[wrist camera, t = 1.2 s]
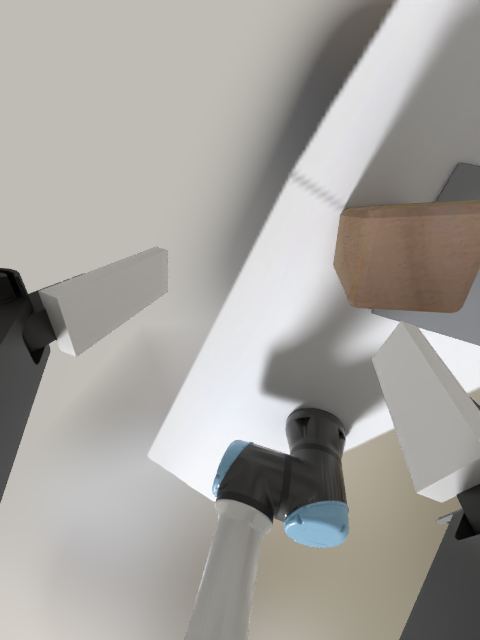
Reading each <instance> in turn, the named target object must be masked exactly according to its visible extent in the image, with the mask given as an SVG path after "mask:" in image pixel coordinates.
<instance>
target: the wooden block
mask: <svg viewBox="0 0 480 640" xmlns="http://www.w3.org/2000/svg"><path fill="white" fill-rule="evenodd" d="M333 265H334V268H335V270H336V273H337V275H338V277H339V279H340V281H341V284H342V286H343V288H344V290H345V293H346V295H347V297H348V299H349V302H350V304H351V305H352V306H354V307H357V308H368V309H385V310H402V311H419V312H437V313H454V312H458V311H459V310H460V309H461V308H462V307H463V305H464V303H465V301H466V298H467V296H468V294H469V291H470V289H471V287H472V284H473V282H474V280H475V278H476V275H477V273H478V271H479V268H480V200H470V201H452V202H434V203H416V204H398V205H380V206H368V207H357V208H348V209H345V210H343V211H342V213H341V215H340V221H339V228H338V235H337V243H336V250H335V257H334V264H333Z"/></svg>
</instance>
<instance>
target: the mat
mask: <svg viewBox="0 0 480 640" xmlns="http://www.w3.org/2000/svg"><path fill="white" fill-rule="evenodd" d="M470 200H480V166H476V165H470V164H465V163H458V165H457V167H456V168H455V170H454V172H453V173H452V175H451V177H450V179H449V180H448V182H447V184H446V185H445V187H444V189H443V191H442V192H441V194H440V196H439V197H438V199H437V201H436V202H452V201H470ZM371 313H373V314H376V315H379V316H383V317H386V318H389V319H393V320H396V321H399V322H401V321H402V322H405V323H408V324H412V325H415V326H417V327H419V328H423V329H426V330H429V331H433V332H436V333H439V334H443V335H446V336H449V337H453V338H456V339H459V340H463V341H466V342H469V343H473V344H476V345H479V346H480V268H479V271H478V273H477V275H476V278H475V280H474V282H473V284H472V287H471V289H470V291H469V294H468V296H467V298H466V301H465V303H464V305H463V307H462V308H461V309H460V310H459V311H458V312H454V313H437V312H419V311H402V310H385V309H373V310H372V312H371Z"/></svg>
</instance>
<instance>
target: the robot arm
mask: <svg viewBox="0 0 480 640" xmlns="http://www.w3.org/2000/svg"><path fill="white" fill-rule="evenodd" d="M167 285H168V250H165V249H162V248H159V247H154V248H152V249H149V250H146V251H143V252H141V253H138V254H135V255H133V256H130V257H127V258H125V259H122V260H119V261H117V262H114V263H111V264H109V265H106V266H104V267H101V268H98V269H96V270H93V271H90V272H88V273H84V274H81V275H78V276H75V277H73V278H72V279H67V280H65V281H63V282H59V283H57V284H54V285H51V286H49V287H46V288H43V289H40V290H38V291H35V292H33V293H30V294H28V293H27V290H26V288H25V286H24V283H23V281H22V278H21V276H20V273H18V272H17V271H15V270H12V269H6V268H5V269H4V268H0V502H1V499H2V496H3V493H4V490H5V487H6V484H7V481H8V478H9V475H10V472H11V469H12V466H13V463H14V460H15V457H16V454H17V451H18V448H19V445H20V442H21V439H22V436H23V432H24V429H25V426H26V424H27V420H28V417H29V414H30V411H31V408H32V405H33V402H34V399H35V396H36V393H37V390H38V387H39V384H40V381H41V378H42V375H43V372H44V369H45V366H46V362H47V360H48V357H49V354H50V346H49V343H51V342H53V341H54V340H57V343H58V345H59V348H60V350H61V351H63V352H65V353H68V354H71V355H73V356H75V357H77V356H78V355H80V354H81V353H83V352H84V351H85V350H87V349H88V348H90V347H91V346H92V345H94V344H95V343H97V342H98V341H99V340H101V339H102V338H104V337H105V336H106V335H108V334H109V333H111V332H112V331H113V330H115V329H116V328H118V327H119V326H120V325H122V324H123V323H124V322H126V321H127V320H129V319H130V318H131V317H133V316H134V315H136V314H137V313H138V312H140V311H141V310H143V309H144V308H146V307H147V306H148V305H150V304H151V303H153V302H154V301H155V300H157V299H158V298H159V297H161V296H162V295H164V294H165V293H167V291H168V286H167ZM372 362H373V365H374V368H375V371H376V374H377V377H378V380H379V383H380V386H381V389H382V392H383V395H384V398H385V400H386V403H387V406H388V409H389V412H390V415H391V418H392V421H393V424H394V427H395V430H396V433H397V436H398V439H399V442H400V445H401V448H402V451H403V454H404V457H405V460H406V463H407V466H408V469H409V472H410V475H411V478H412V481H413V484H414V487H415V490H416V492H417V493H418V494H421V495H423V496H426V497H428V498H431V499H434V500H436V501H439V502H441V503H442V502H444V501H446V500H448V499H451V498H453V497H455V496H457V498H458V500H459V502H460V504H461V506H462V509H460V510H458V511H455V512H452V513H450V514H448V515H445V516H443V517H440V518H439V519H438V520H436V522H437V523H438V524H439V525H441V524H443V523H449V525H448V528H447V530H446V532H445V535H444V537H443V539H442V542H441V544H440V546H439V549H438V551H437V553H436V556H435V558H434V560H433V563H432V565H431V567H430V570H429V572H428V574H427V577H426V579H425V581H424V584H423V586H422V588H421V591H420V593H419V595H418V597H417V600H416V602H415V604H414V607H413V609H412V612H411V614H410V616H409V618H408V621H407V623H406V626H405V628H404V630H403V632H402V635H401V637H400V639H399V640H480V406H479V405H478V404H477V403H476V402H475V401H474V400H473V399H472V398H471V397H469V396H468V394H467V393H466V392H465V390H464V389H463V388H462V386H461V385H460V384H459V382H458V381H457V380H456V378H455V377H454V375H453V374H452V373H451V371H450V370H449V369H448V367H447V366H446V365H445V363H444V362H443V361H442V359H441V358H440V357H439V355H438V354H437V353H436V351H435V350H434V349H433V347H432V346H431V345H430V343H429V342H428V340H427V339H426V338H425V336H424V335H423V334H422V332H421V331H420V330H419V328H418V327H417V326H415V325H412V324H408V323H405V322H402V321H401V322H400V323H399V324H398V326H397V327H396V328H395V330H394V331H393V332H392V334H391V335H390V336H389V338H388V339H387V340H386V341H385V343H384V344H383V345H382V347H381V348H380V349H379V351H378V352H377V353H376V355H375V356H374V357H373V359H372ZM286 436H287V440H288V444H289V448H290V455H288V454H285V453H282V452H278V451H275V450H272V449H269V448H266V447H263V446H260V445H257V444H254V443H253V442H246V441H242V440H235V441H233V442H232V443H231V444H230V445H229V447H228V448H227V450H226V452H225V454H224V456H223V458H222V460H221V462H220V465H219V467H218V470H217V474H216V477H215V479H214V483H213V489H212V491H213V494H214V495H215V497H217V499H216V502H215V509H216V512H217V515H218V524H217V527H216V531H215V534H214V537H213V541H212V545H211V548H210V551H209V555H208V558H207V562H206V565H205V569H204V572H203V576H202V579H201V583H200V586H199V590H198V593H197V597H196V600H195V604H194V607H193V611H192V614H191V618H190V621H189V625H188V628H187V632H186V635H185V639H184V640H247V639H248V632H249V626H250V618H251V612H252V605H253V598H254V591H255V585H256V578H257V570H258V564H259V557H260V551H261V544H262V538H263V536H264V535H266V534H267V533H268V532H269V531H270V530H271V529H272V526H273V525H272V524H273V518H275V519H278V520H280V521H283V522H284V528H285V532H286V534H287V535H288V536H289V537H290V538H292V539H293V540H294V541H296V542H298V543H300V544H303V545H307V546H312V547H320V548H323V547H333V546H337V545H339V544H341V543H343V542H344V541H345V540H346V539H347V537H348V534H349V522H348V511H349V509H348V506H347V500H346V493H345V486H344V478H343V471H342V463H341V458H342V454H343V450H344V446H345V441H346V436H345V430H344V427H343V425H342V423H341V422H340V421H339V420H338V419H337V418H336V417H335V416H333V415H332V414H330V413H328V412H325V411H323V410H319V409H301V410H297V411H295V412H293V413H292V414H291V415H290V416H289V417H288V419H287V421H286Z"/></svg>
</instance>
